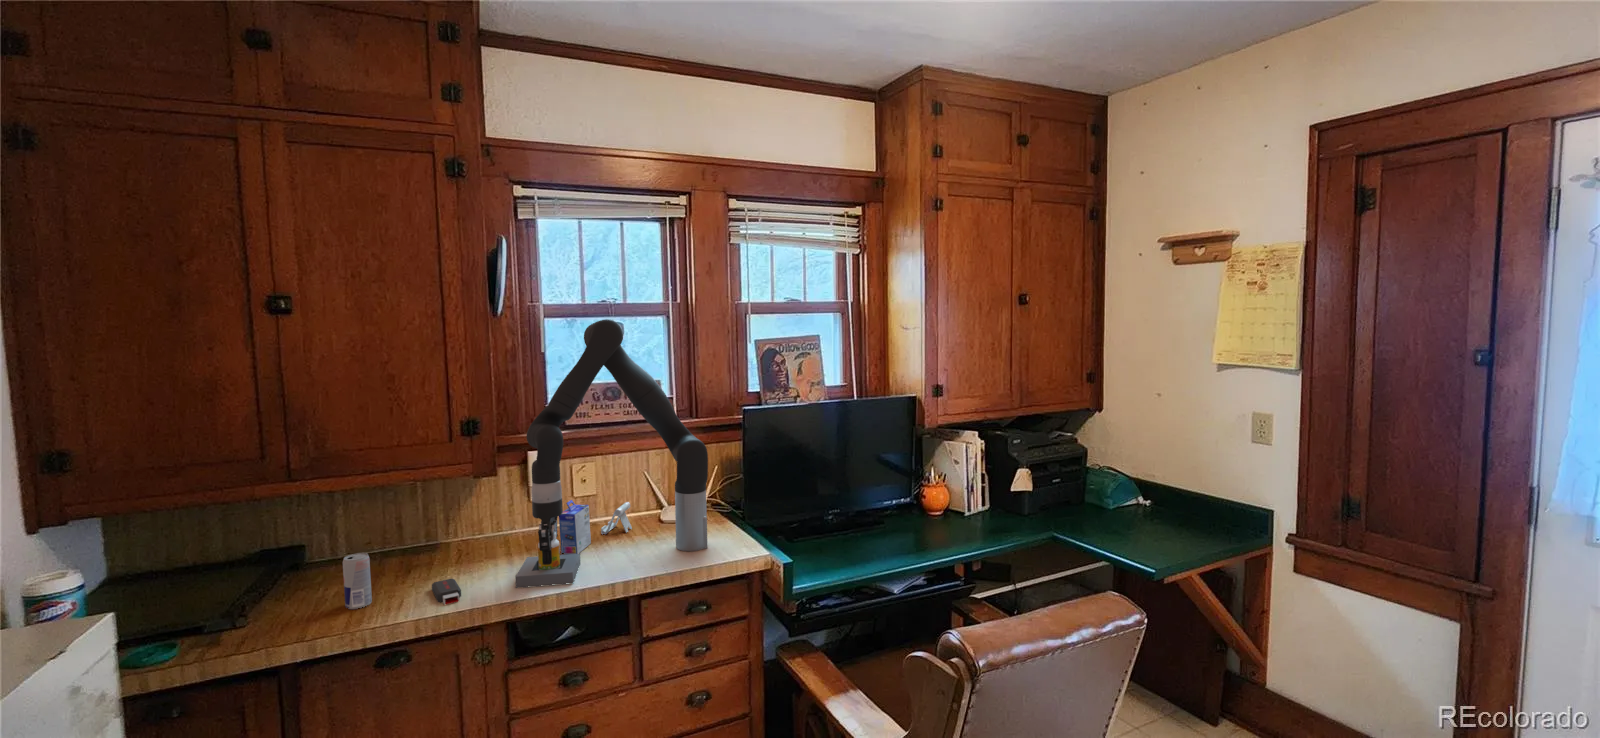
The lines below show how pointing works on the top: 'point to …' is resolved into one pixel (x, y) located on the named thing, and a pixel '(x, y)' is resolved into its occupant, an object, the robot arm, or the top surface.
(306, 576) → the top surface
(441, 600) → the usb drive
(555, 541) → the supplement bottle
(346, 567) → the energy drink
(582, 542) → the ink cartridge box
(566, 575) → the socket block
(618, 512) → the portable electronic device stand
